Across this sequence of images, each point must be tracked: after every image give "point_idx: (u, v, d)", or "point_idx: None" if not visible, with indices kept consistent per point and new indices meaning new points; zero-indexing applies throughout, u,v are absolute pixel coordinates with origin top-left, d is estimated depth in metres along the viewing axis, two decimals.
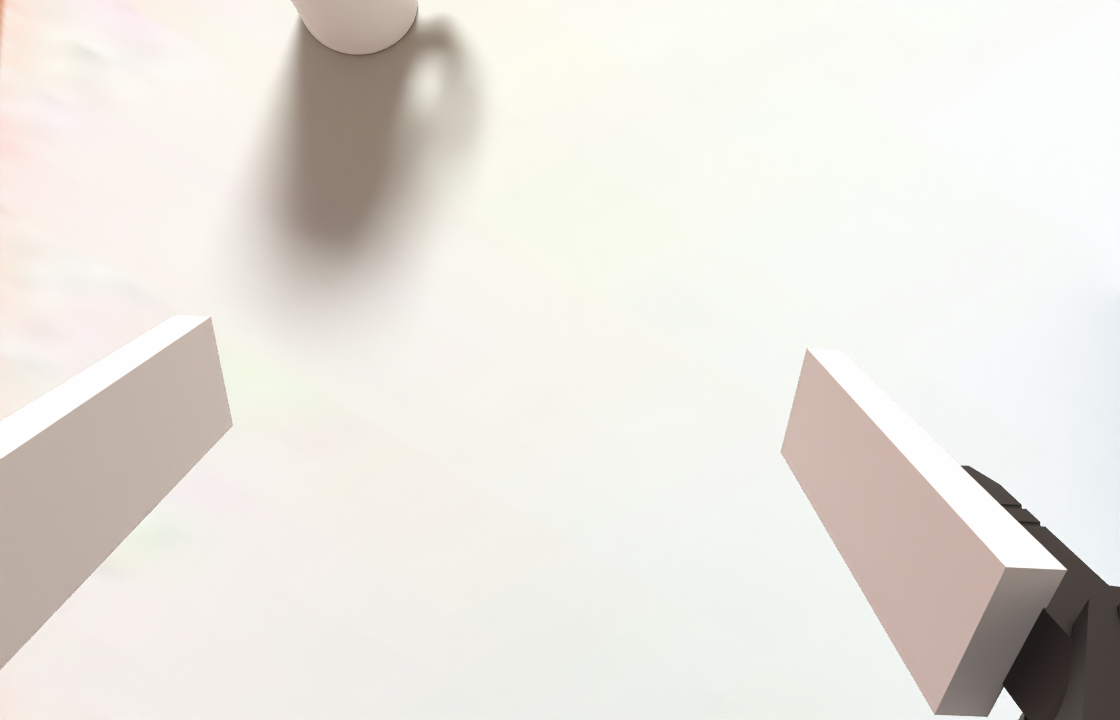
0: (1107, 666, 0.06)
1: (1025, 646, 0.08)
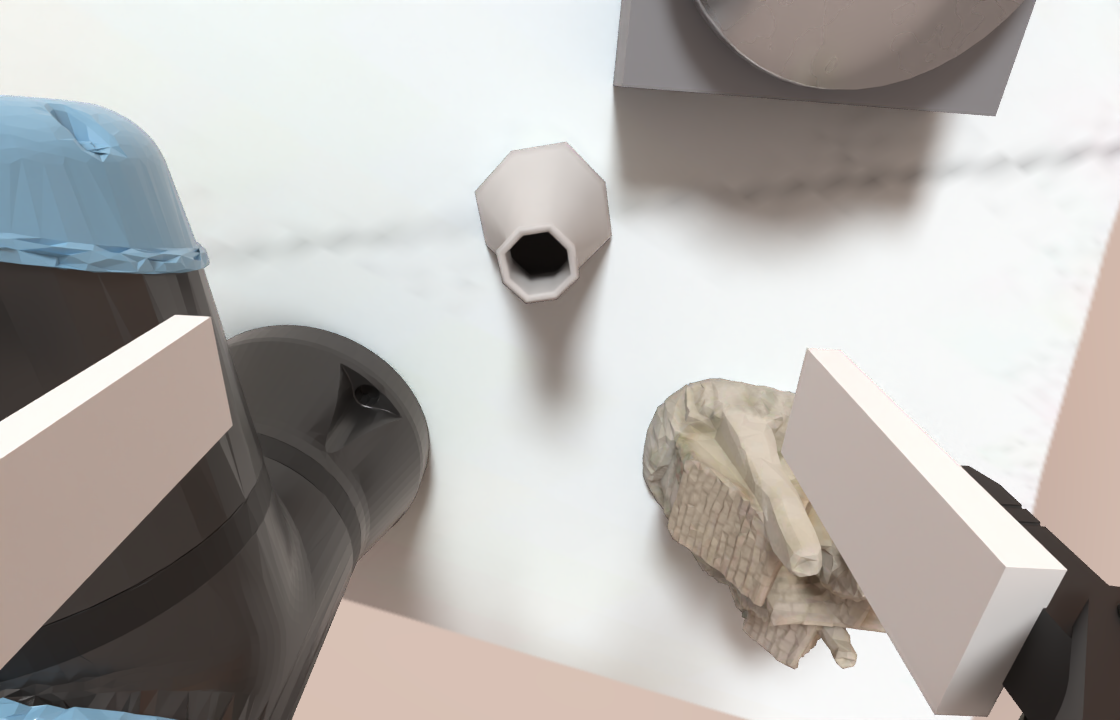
0: (1107, 666, 0.06)
1: (1025, 646, 0.08)
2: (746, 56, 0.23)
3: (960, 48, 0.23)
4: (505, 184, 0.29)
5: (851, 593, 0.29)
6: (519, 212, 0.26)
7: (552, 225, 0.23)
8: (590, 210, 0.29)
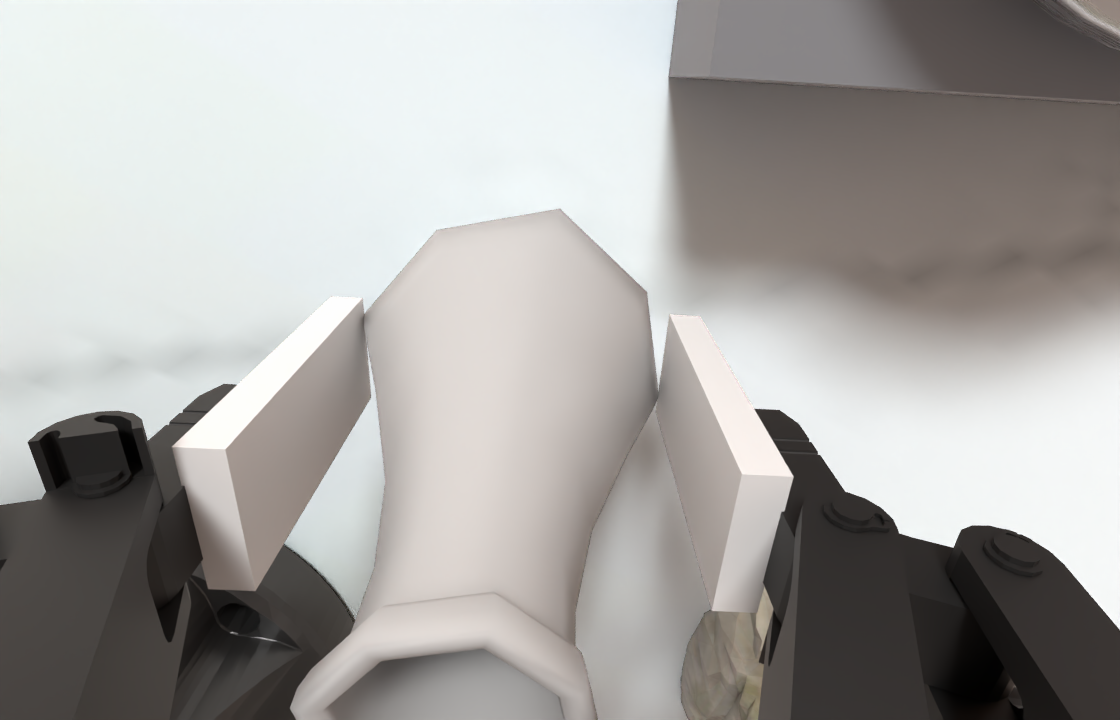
0: (814, 559, 0.07)
1: (772, 546, 0.09)
2: None
3: None
4: (412, 320, 0.12)
5: None
6: (424, 441, 0.09)
7: (497, 635, 0.06)
8: (619, 383, 0.12)
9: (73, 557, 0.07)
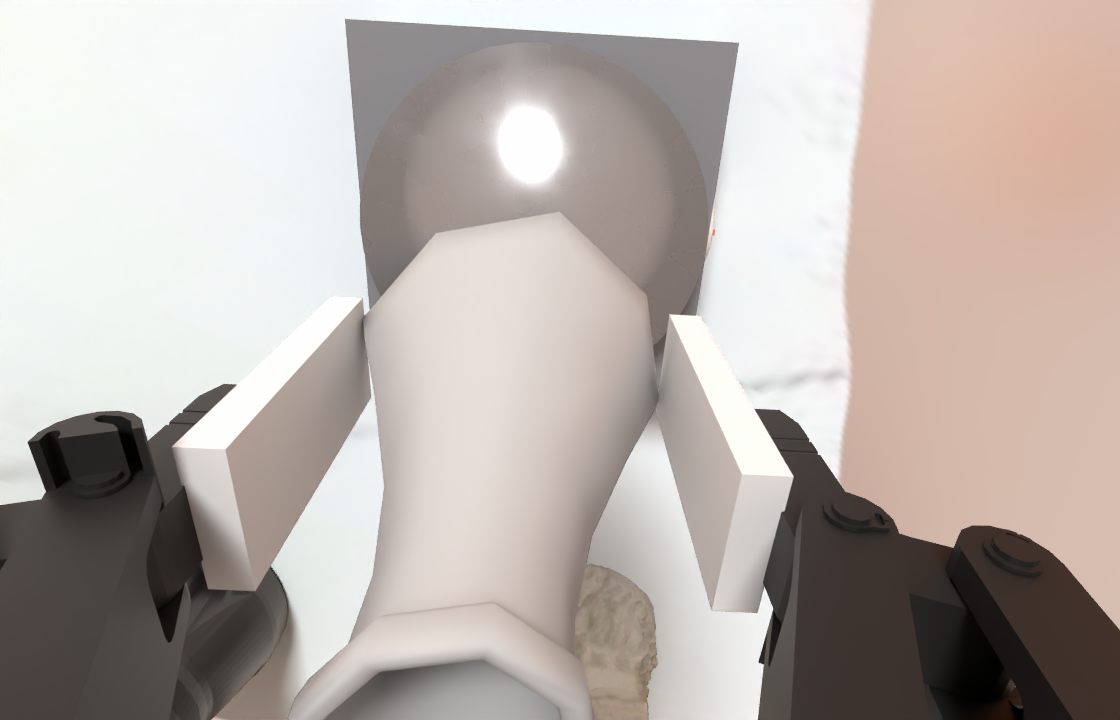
0: (814, 560, 0.07)
1: (772, 545, 0.09)
2: None
3: None
4: (412, 325, 0.12)
5: None
6: (423, 447, 0.09)
7: (496, 646, 0.06)
8: (619, 388, 0.12)
9: (73, 557, 0.07)
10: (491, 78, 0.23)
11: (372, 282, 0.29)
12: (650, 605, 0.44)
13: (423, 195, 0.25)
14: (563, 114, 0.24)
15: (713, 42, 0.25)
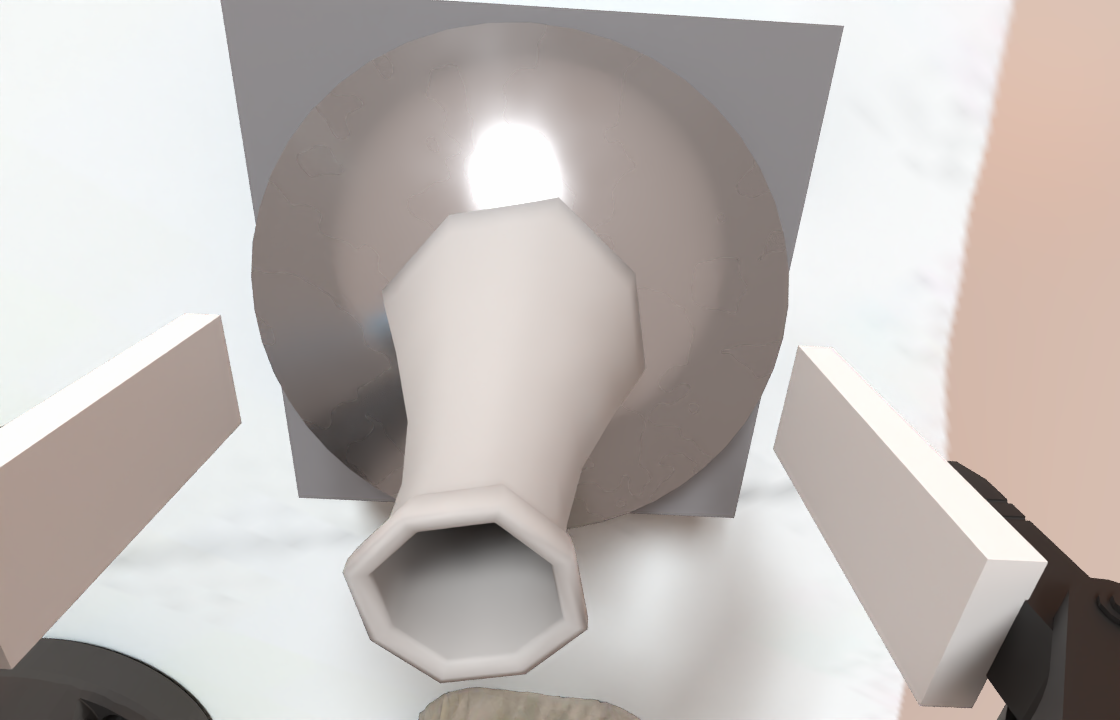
0: (1087, 657, 0.06)
1: (1008, 637, 0.08)
2: None
3: (654, 495, 0.20)
4: (429, 292, 0.14)
5: None
6: (442, 387, 0.11)
7: (505, 510, 0.07)
8: (608, 349, 0.14)
9: None
10: (448, 82, 0.14)
11: None
12: None
13: (348, 263, 0.16)
14: (566, 139, 0.15)
15: (803, 25, 0.16)
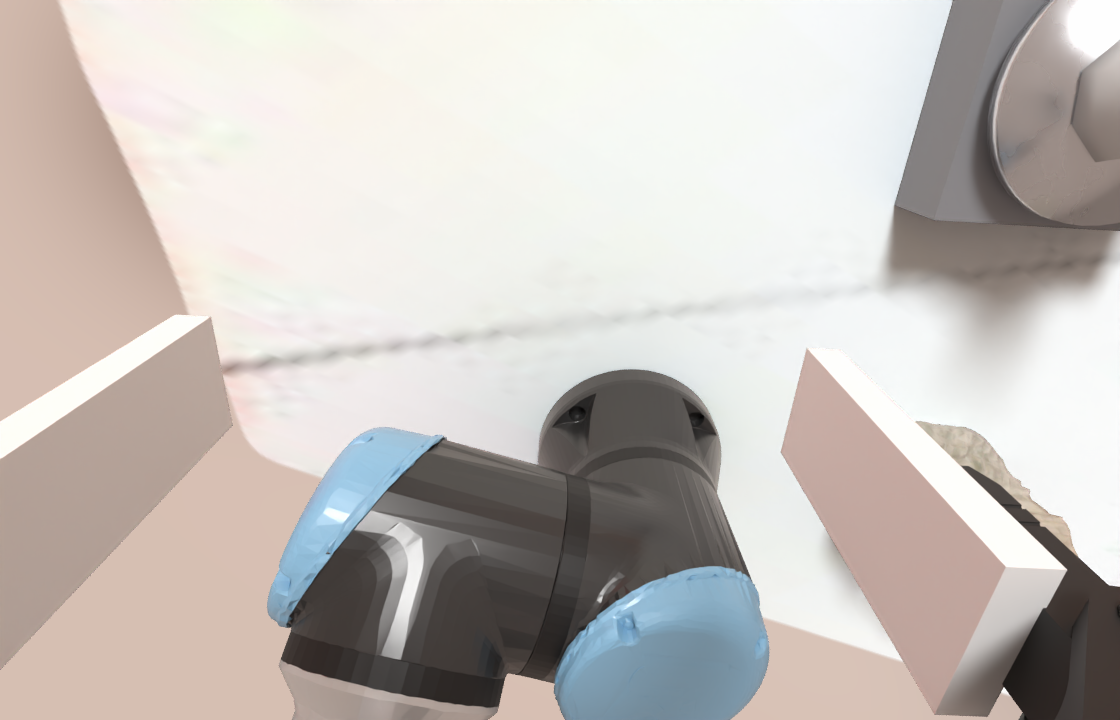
0: (1107, 666, 0.06)
1: (1025, 646, 0.08)
2: (1029, 207, 0.36)
3: None
4: None
5: None
6: None
7: None
8: None
9: None
10: None
11: (963, 138, 0.36)
12: None
13: (1066, 56, 0.33)
14: None
15: None
